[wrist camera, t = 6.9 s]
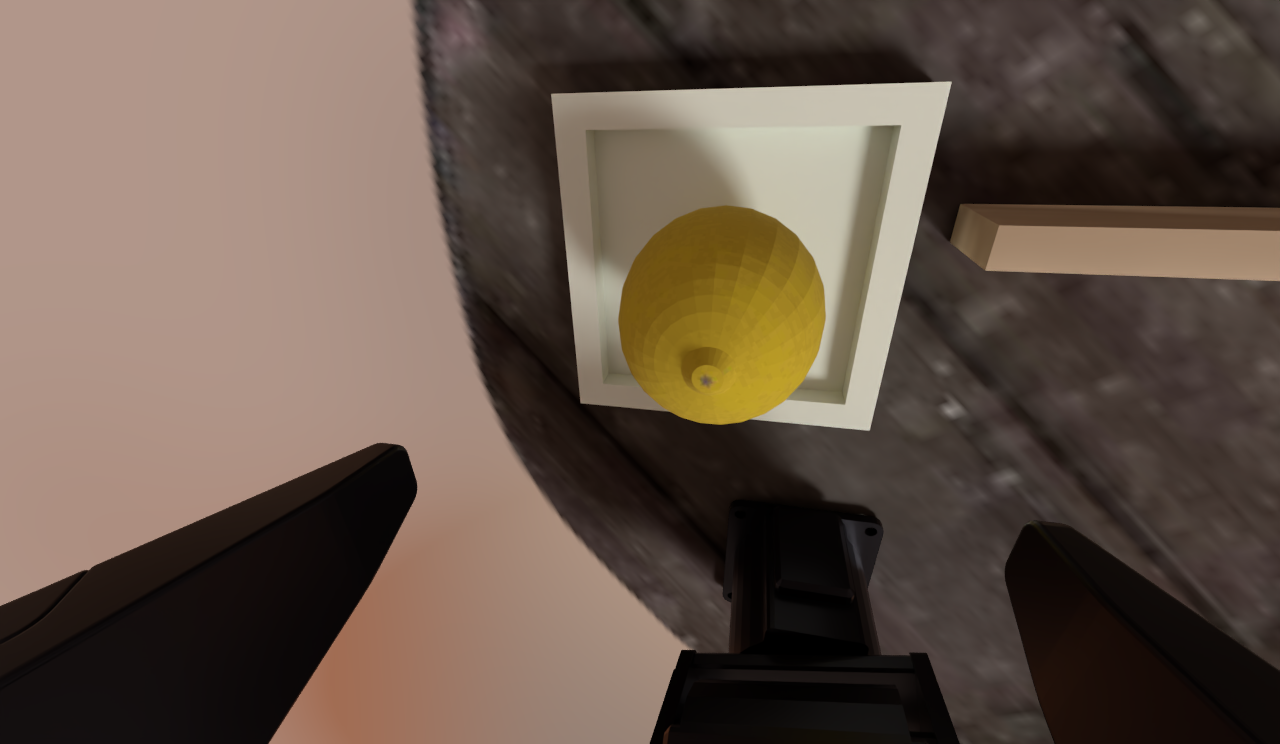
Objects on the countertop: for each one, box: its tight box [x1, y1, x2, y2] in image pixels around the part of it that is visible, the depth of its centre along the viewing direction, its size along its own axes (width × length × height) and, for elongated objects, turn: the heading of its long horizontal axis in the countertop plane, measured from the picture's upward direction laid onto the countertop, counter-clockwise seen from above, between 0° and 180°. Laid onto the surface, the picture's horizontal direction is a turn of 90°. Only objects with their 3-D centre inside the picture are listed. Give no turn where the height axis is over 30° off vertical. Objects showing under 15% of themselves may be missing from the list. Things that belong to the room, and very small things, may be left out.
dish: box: [551, 82, 952, 431], centre depth 17 cm, size 11×11×2 cm
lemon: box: [618, 205, 826, 425], centre depth 14 cm, size 6×6×8 cm
